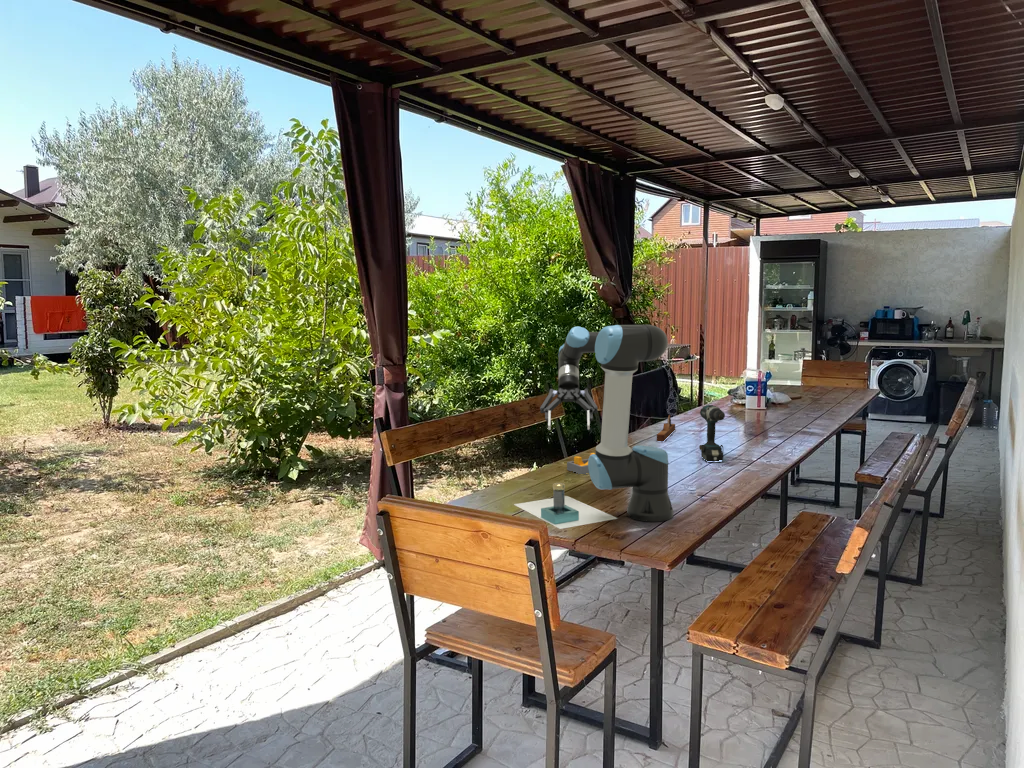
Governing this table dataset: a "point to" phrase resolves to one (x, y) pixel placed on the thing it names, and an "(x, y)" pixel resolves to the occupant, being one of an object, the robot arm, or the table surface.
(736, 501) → the table surface
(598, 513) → the board
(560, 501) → the gold capped grey cylinder
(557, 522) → the teal square frame
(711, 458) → the power drill
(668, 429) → the hand plane
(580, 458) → the pipe clamp
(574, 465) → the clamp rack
